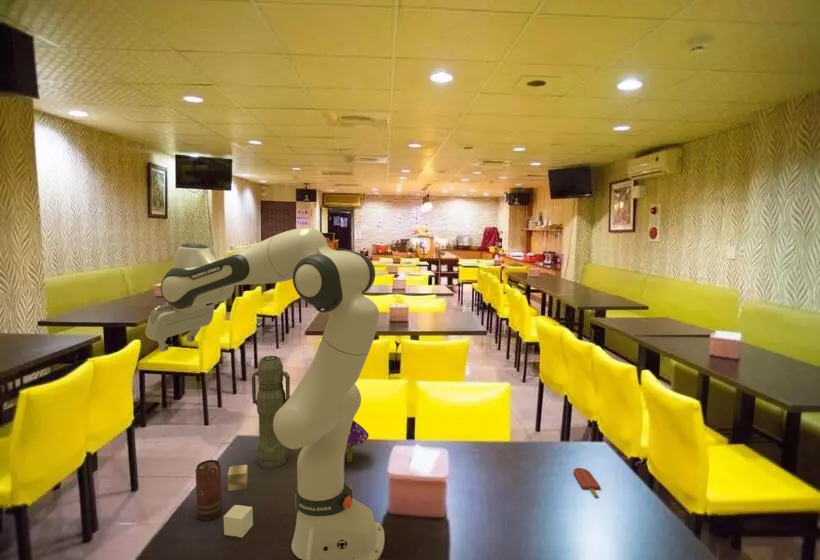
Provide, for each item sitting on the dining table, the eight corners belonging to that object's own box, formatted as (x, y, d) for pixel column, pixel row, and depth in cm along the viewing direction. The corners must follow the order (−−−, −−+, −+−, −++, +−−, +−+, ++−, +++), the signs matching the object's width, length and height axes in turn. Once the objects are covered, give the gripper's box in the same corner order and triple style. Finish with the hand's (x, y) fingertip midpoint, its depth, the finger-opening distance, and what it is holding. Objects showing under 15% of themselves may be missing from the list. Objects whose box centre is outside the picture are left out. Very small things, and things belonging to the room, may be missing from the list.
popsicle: (587, 494, 134) (570, 467, 149) (587, 499, 134) (570, 471, 149) (606, 494, 134) (587, 467, 148) (606, 499, 134) (587, 472, 149)
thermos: (289, 468, 148) (287, 361, 144) (251, 469, 147) (248, 362, 143) (293, 454, 157) (291, 353, 153) (257, 456, 156) (254, 354, 152)
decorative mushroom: (328, 455, 157) (328, 412, 155) (365, 450, 160) (365, 409, 158) (332, 474, 145) (331, 428, 143) (371, 469, 148) (372, 424, 146)
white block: (253, 525, 120) (252, 507, 120) (242, 537, 115) (241, 519, 115) (235, 522, 121) (234, 504, 121) (224, 535, 116) (223, 516, 116)
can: (214, 522, 121) (212, 472, 119) (192, 519, 122) (190, 469, 120) (227, 509, 127) (225, 460, 125) (206, 505, 128) (204, 457, 126)
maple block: (247, 480, 141) (247, 464, 141) (246, 489, 136) (245, 473, 136) (230, 482, 140) (229, 466, 139) (228, 491, 135) (227, 475, 135)
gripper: (161, 312, 116) (153, 361, 120) (220, 297, 135) (212, 340, 139) (143, 303, 118) (135, 351, 121) (203, 290, 137) (195, 332, 140)
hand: (177, 345), depth 130 cm, fingers open, 8 cm apart
